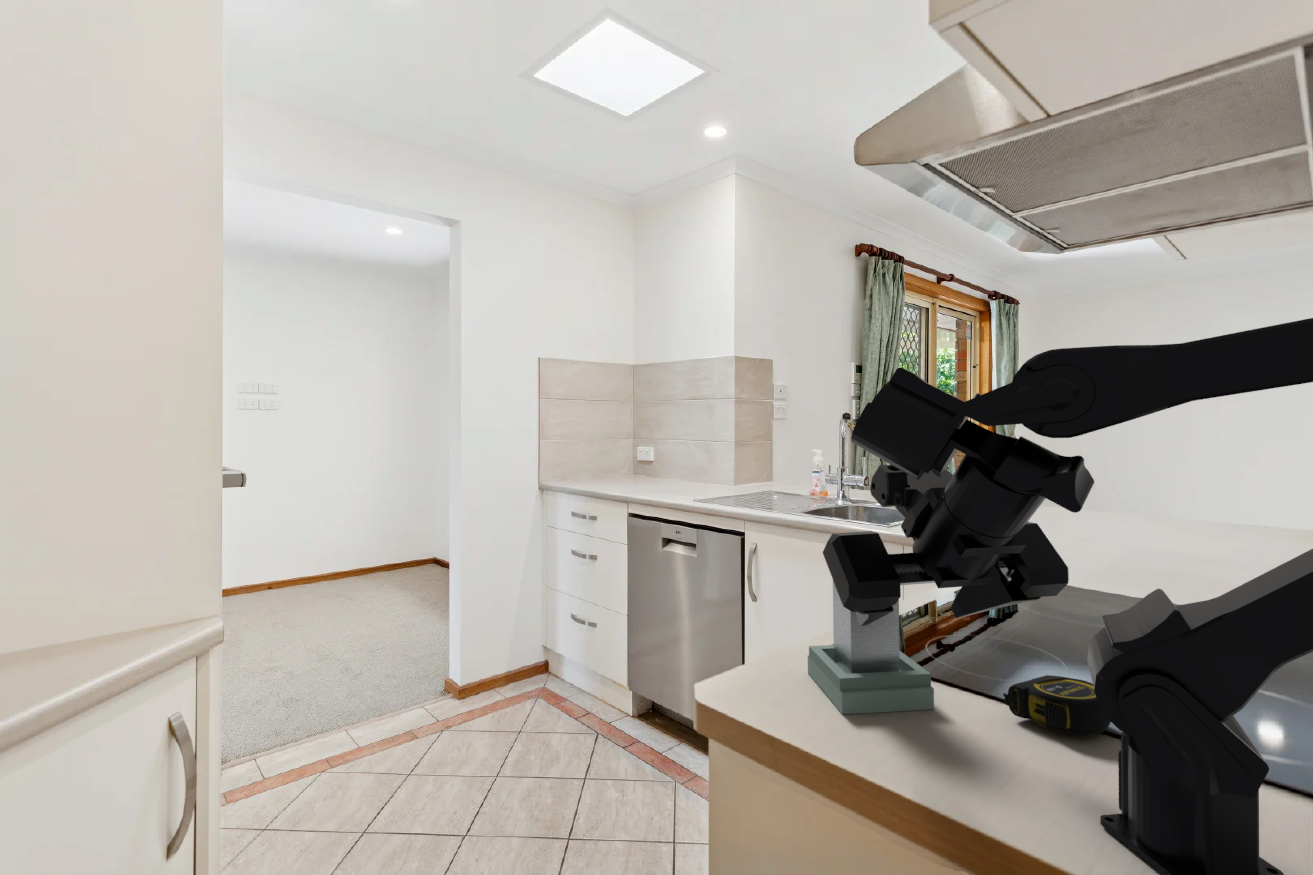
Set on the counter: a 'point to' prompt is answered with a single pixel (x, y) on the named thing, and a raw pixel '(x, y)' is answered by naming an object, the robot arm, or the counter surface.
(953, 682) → the counter surface
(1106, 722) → the tape measure
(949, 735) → the counter surface
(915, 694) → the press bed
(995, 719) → the counter surface
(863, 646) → the housing
